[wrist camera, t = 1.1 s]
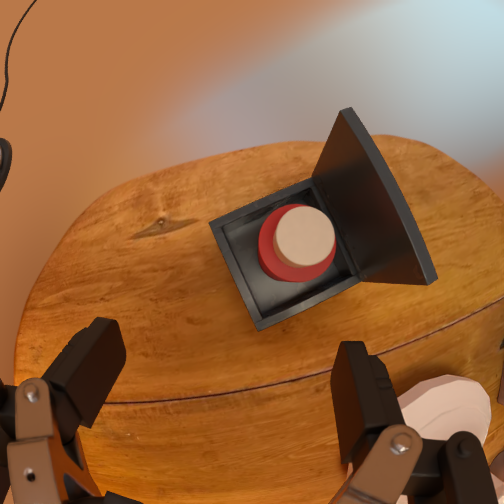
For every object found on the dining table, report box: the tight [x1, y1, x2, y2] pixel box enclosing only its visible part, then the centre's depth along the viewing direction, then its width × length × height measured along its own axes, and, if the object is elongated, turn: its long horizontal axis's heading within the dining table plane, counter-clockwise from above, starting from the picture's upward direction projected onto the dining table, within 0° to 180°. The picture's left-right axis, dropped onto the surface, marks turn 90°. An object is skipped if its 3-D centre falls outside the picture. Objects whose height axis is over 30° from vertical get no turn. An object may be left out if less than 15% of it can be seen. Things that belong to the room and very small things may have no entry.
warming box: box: [209, 177, 362, 332], centre depth 26 cm, size 10×10×5 cm
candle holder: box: [346, 374, 504, 504], centre depth 17 cm, size 20×20×19 cm
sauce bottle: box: [258, 204, 336, 282], centre depth 22 cm, size 5×5×13 cm
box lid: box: [312, 107, 438, 285], centre depth 18 cm, size 11×10×1 cm
